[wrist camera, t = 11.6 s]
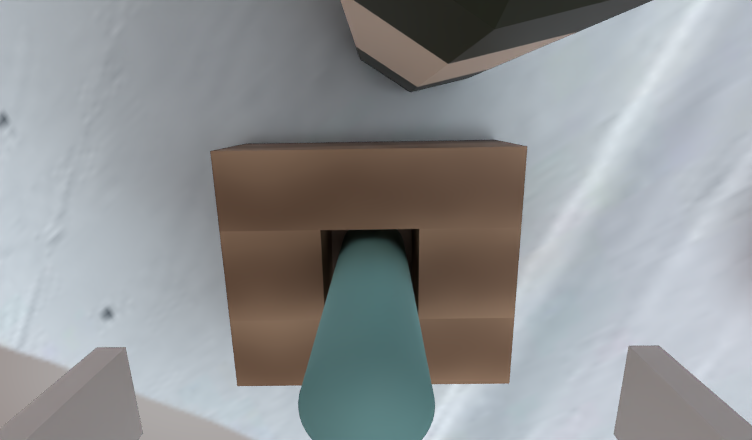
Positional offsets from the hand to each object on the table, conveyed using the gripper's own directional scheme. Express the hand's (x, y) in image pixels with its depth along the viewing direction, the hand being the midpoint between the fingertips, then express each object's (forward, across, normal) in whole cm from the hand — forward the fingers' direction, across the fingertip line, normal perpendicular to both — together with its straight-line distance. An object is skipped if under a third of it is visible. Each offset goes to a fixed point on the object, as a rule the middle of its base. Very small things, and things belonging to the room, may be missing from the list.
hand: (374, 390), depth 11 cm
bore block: (+14, 0, -1) cm, 14 cm away
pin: (+13, 0, -1) cm, 13 cm away
